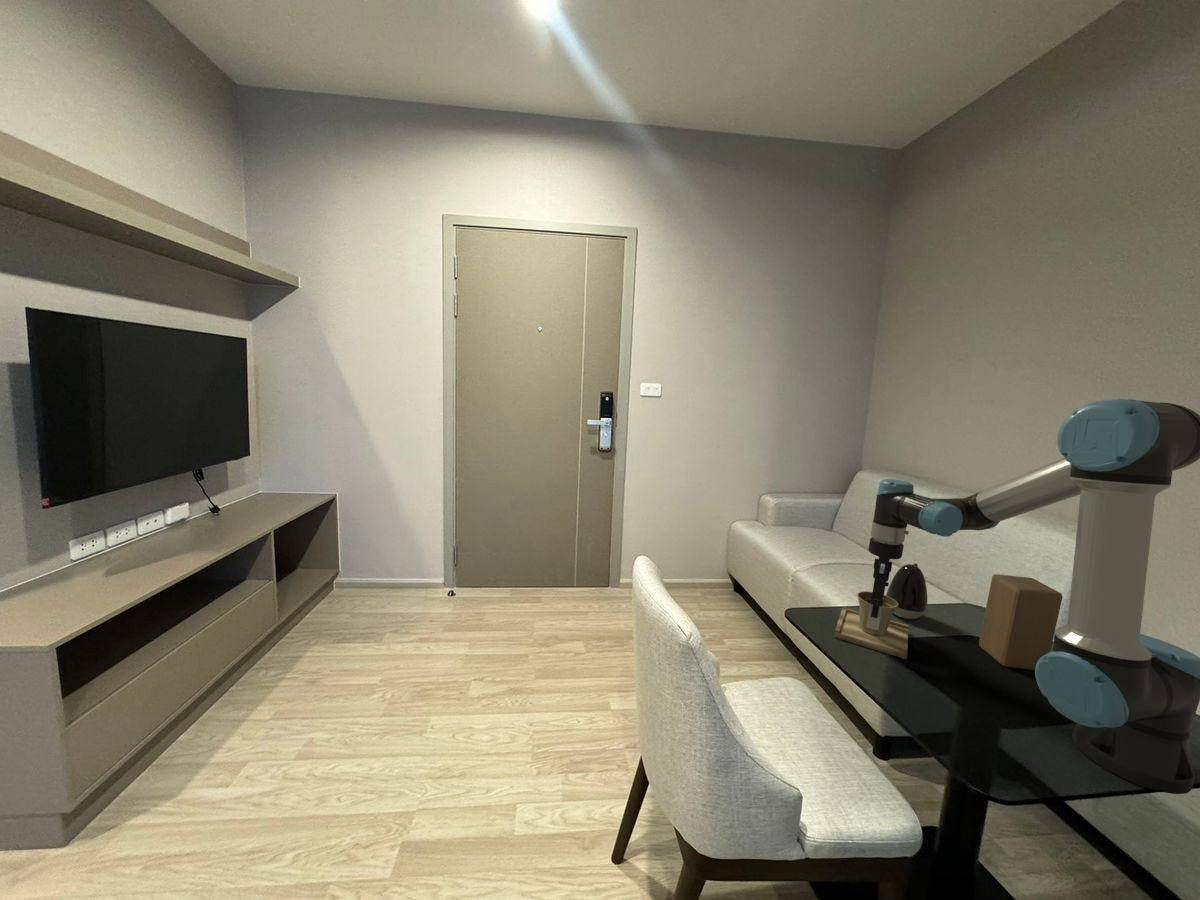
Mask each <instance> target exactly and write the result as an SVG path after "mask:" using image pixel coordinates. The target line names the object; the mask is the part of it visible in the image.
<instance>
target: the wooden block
mask: <svg viewBox="0 0 1200 900" xmlns="http://www.w3.org/2000/svg"><path fill="white" fill-rule="evenodd" d="M989 586H990V587H989V591H988V596H987V602H986V606H985V611H984V614H983V615H984V616H983V620H982V626H981V630H980V634H979V640H978V645H979V647H980V648H981V649H982V650H983V651H984V652H986V653H987V654H988V655H989V656H991V657H992V658H993V659H994V660H995V661H996V662H998V663H999V664H1001V666H1004V667H1007V668H1013V669H1025V670H1031V671H1032V670H1033V671H1035V667H1036V664H1037V662H1038V660H1039V659H1040V658H1041V657H1043V656H1044V655H1046V654H1047V653H1049V652H1052V651H1051V650H1052V647H1053V643H1054V635H1055V630H1056V629H1057V624H1058V619H1059V615H1060V611H1061V605H1062V601H1063V594H1062V593H1061V592H1060V591H1057V590H1056V589H1054V588H1052V587H1050V586H1048V585H1046V584H1045V583H1042V582H1041V581H1039V580H1037V579H1035V578H1033V577H1028V576H1016V575H1008V574H1007V575H1006V574H998V573H997V574H993V575H992V576H991V581H990V585H989Z"/></svg>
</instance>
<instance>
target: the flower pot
mask: <svg viewBox="0 0 1200 900" xmlns="http://www.w3.org/2000/svg"><path fill="white" fill-rule="evenodd" d="M872 592H873V591H868V590H867V591H866V590H864V591H859V592H857V594H856V597H857V599H858V600H857V601H858V603H859V606H858V607H859V608H858V609H859V610H858V611H859V627H860V628H861V629H862V630H863V631H865V632H867V633H869V634H872V635H875V634H877V635H879V636H882V635H885V634H886V632H887V629H888V626H889V623H890V620H891V619H892V617H893V614H894V613H893V612H894V611H895V609H896V608H897V607H898V603H897V601H895V600H894V599H892V598H890V597H888V596H886V594H884V596H883V602H882V603H883V605H882V612H881V617H880V623H879V629H878V630H874V629H871V628H867V627H866V624H867V618H868V612H869V606H870V603H867V600H871V598H872ZM873 600H877V599H873ZM878 601H880V600H878ZM891 621H892V620H891Z"/></svg>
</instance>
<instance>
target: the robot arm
mask: <svg viewBox="0 0 1200 900" xmlns="http://www.w3.org/2000/svg"><path fill="white" fill-rule="evenodd" d="M1056 438H1057V440H1056V441H1057V442H1056V443H1057V447H1058V450H1059V453H1060V455H1061V456H1063V457H1062V458H1060V459H1056V460H1055V461H1052V462H1050V463H1047V464H1045V465H1043V466H1040V467H1038V468H1035V469H1032V470H1029V471H1028V472H1025V473H1023V474H1020V475H1018V476H1015V477H1013V478H1010V479H1008V480H1006V481H1003V482H1001V483H999V484H996V485H994V486H992V487H989V488H986V489H984V490H982V491H979V492H977V493H974V494H972V495H969V496H967V497H963V498H961V497H958V498H954V497H953V498H931V497H927V496H923V495H920V494H917V493H915V490H914V485H913V483H911V482H909V481H905V480H902V479H901V480H900V479H894V478H885V479H882V480H881V481H880V482H879V485H878V488H877V492H876V500H875V506H874V508H875V509H874V513H873V514H874V515H873V519H872V524H871V528H870V529H871V531H870V536H871V538H869V542H868V552H869V553H870V554H872V555H873V556H877V557H878V558H874V561H873V574H872V578H873V579H874V581H873V585H872V586H873V588H872V591H871V592H872V598H871V600H867V603H870V606H869V612H868V618H867V624H866V627H867V628H871V629H874V630H878V629H879V623H880V617H881V612H882V605H883V603H882V602H883V596H884V595H885V591H886V587H887V588H889V585H890V583H889V582H888V581H889V580H890V579H889V578H890V573H891V572H892V567H893V562H892V561H890V560H900V559H902V557H903V552H904V547H905V545H904V544H903V543H904V542H905V540H906V539H905V538H906V535H907V536H908V535H909V534H910V532H909V531H908V530H907V527H908V525H909V526H912V527H914V528H917V529H919V530H922V531H925V532H927V533H929V534H931V535H936V536H940V537H945V538H946V537H951V536H952V535H953V534H955V533H957V532H959V531H984V530H991V529H993V528H995V527H997V526H998V525H999V523H1000V522H1003V521H1005V520H1009V519H1012V518H1014V517H1017V516H1020V515H1023V514H1026V513H1029V512H1031V511H1035V510H1039V509H1040V508H1044V507H1047V506H1049V505H1053V504H1057V503H1060V502H1062V501H1064V500H1068V499H1071V498H1074V497H1077V496H1079V504H1078V505H1079V506H1078V515H1077V525H1076V535H1075V544H1074V545H1075V547H1074V556H1073V566H1072V574H1071V575H1072V576H1071V586H1070V596H1069V606H1068V615H1067V624H1065V625H1062V626H1061V627H1059V628H1056V629H1055V633H1054V637H1053V643H1052V651H1050V652H1049V653H1047V654H1046V655H1044V656H1043V657H1041V658H1040V659H1039V660H1038V662H1037V664H1036V667H1035V670H1034V675H1035V680H1036V683H1037V685H1038V688H1039V690H1040V692H1041V694H1042V695H1043V697H1045V698H1046V699H1047V700H1048V702H1049V704H1050V705H1051V706H1052V707H1053V708H1054V709H1055V710H1056V711H1057V712H1059V713H1060V714H1061V715H1063V716H1064V717H1065V718H1067V719H1068V720H1071V721H1073V722H1074V723H1075V725H1074V728H1073V731H1072V736H1071V737H1072V741H1073V743H1074V745H1075V746H1076V748H1078V749H1079V750H1080V752H1082V753H1083V755H1085V756H1086V757H1087V758H1089V759H1090V760H1091V761H1092V762H1094V763H1095V764H1098V765H1099V766H1100V767H1102V768H1103V769H1105V770H1107V771H1109V772H1111V773H1112V774H1114V775H1116V776H1118V777H1121V778H1122V779H1124V780H1127V781H1129V782H1132V783H1134V784H1137V785H1139V786H1141V787H1144V788H1147V789H1151V790H1153V791H1157V790H1164V791H1160V792H1161V793H1166V794H1172V795H1184V794H1188V793H1190V792H1191V791H1192V789H1193V786H1194V781H1195V775H1196V774H1195V769H1194V764H1193V760H1192V756H1191V752H1190V751H1191V750H1190V746H1189V738H1190V734H1191V731H1192V727H1193V724H1194V721H1195V717H1196V714H1197V711H1198V707H1199V704H1200V657H1199V656H1198V655H1196V654H1194V653H1192V652H1190V651H1188V650H1186V649H1184V648H1181V647H1179V646H1177V645H1175V644H1172V643H1170V642H1168V641H1164V640H1161V639H1158V638H1156V637H1152V636H1149V635H1145V634H1143V633H1141V631H1142V630H1141V628H1142V621H1143V620H1142V619H1143V610H1144V601H1145V590H1146V582H1147V576H1148V575H1147V574H1148V564H1149V557H1150V556H1149V554H1150V548H1151V547H1150V545H1151V536H1152V528H1153V520H1154V519H1153V518H1154V509H1155V501H1156V496H1157V495H1158V494H1159V493H1161V492H1163V491H1165V490H1167V489H1169V488H1171V486H1172V477H1173V471H1177V470H1180V469H1183V468H1184V469H1185V468H1187V467H1189V466H1191V465H1193V464H1194V463H1195V462H1197V461H1199V460H1200V414H1198V413H1197V412H1196V411H1195V410H1192V409H1191V408H1188V407H1186V406H1183V405H1180V404H1176V403H1171V402H1169V403H1168V402H1157V401H1154V402H1153V401H1147V400H1146V401H1145V400H1138V399H1137V400H1136V399H1130V398H1129V399H1126V398H1125V399H1123V398H1117V399H1104V400H1103V399H1102V400H1098V401H1094V402H1093V401H1092V402H1090V403H1088V404H1084V405H1082V406H1080V407H1079V408H1077V409H1076V410H1074V411H1073V412H1072V413H1070V414H1069V415H1068V416H1067V417H1066V418H1065V419H1064V421H1063V422H1062V424H1061V426H1060V427H1059V430H1058V432H1057V437H1056ZM873 599H877V600H873ZM878 600H880V601H878Z"/></svg>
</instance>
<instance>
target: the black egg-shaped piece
mask: <svg viewBox="0 0 1200 900" xmlns="http://www.w3.org/2000/svg"><path fill="white" fill-rule="evenodd" d="M927 589H928V588H927V582H926V578H925V576H924V573H923V571H922V569H921V568H920V567H918V564H917V563H913V564H911V563H908V564H904V565H902V566H901V567H900V568H899V569H898V570H897V571H896V573H895V574H894V575H893V577H892V580H891V582H890V583H889V584H888V587H887V592H886V594H885V595H886V596H888V597H890V598H892V599H894V600H895V601H897V603H898V607H897V608H896V609H895V611H894V612H893V614H894V615H895V616H897V617H899V618H902V619H906V620H916V619H919V618H921V617H922V616H923V614H924V613H925V612H926V611H927V610H928V590H927Z"/></svg>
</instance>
